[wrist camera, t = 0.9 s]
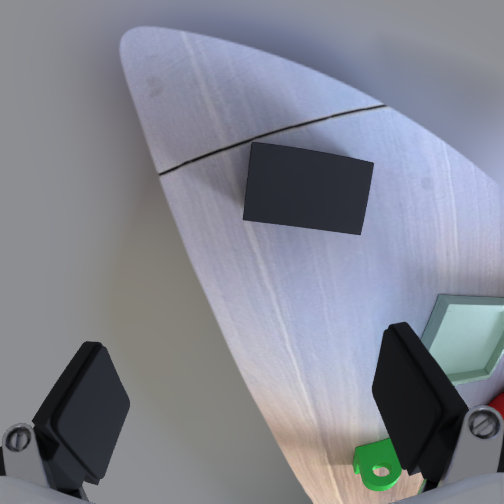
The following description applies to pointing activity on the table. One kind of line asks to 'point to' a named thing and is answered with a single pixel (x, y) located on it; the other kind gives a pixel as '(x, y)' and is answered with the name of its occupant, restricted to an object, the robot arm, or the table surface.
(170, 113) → the table surface
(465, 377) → the mount tray
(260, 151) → the black block
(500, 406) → the ceramic cup
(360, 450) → the mechanical part
